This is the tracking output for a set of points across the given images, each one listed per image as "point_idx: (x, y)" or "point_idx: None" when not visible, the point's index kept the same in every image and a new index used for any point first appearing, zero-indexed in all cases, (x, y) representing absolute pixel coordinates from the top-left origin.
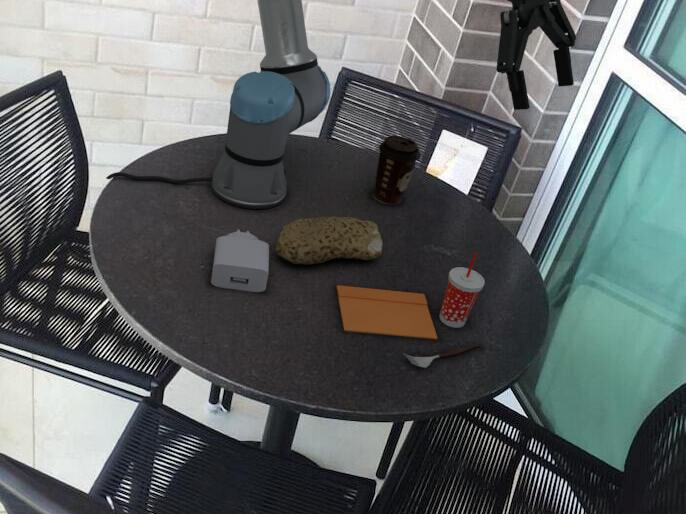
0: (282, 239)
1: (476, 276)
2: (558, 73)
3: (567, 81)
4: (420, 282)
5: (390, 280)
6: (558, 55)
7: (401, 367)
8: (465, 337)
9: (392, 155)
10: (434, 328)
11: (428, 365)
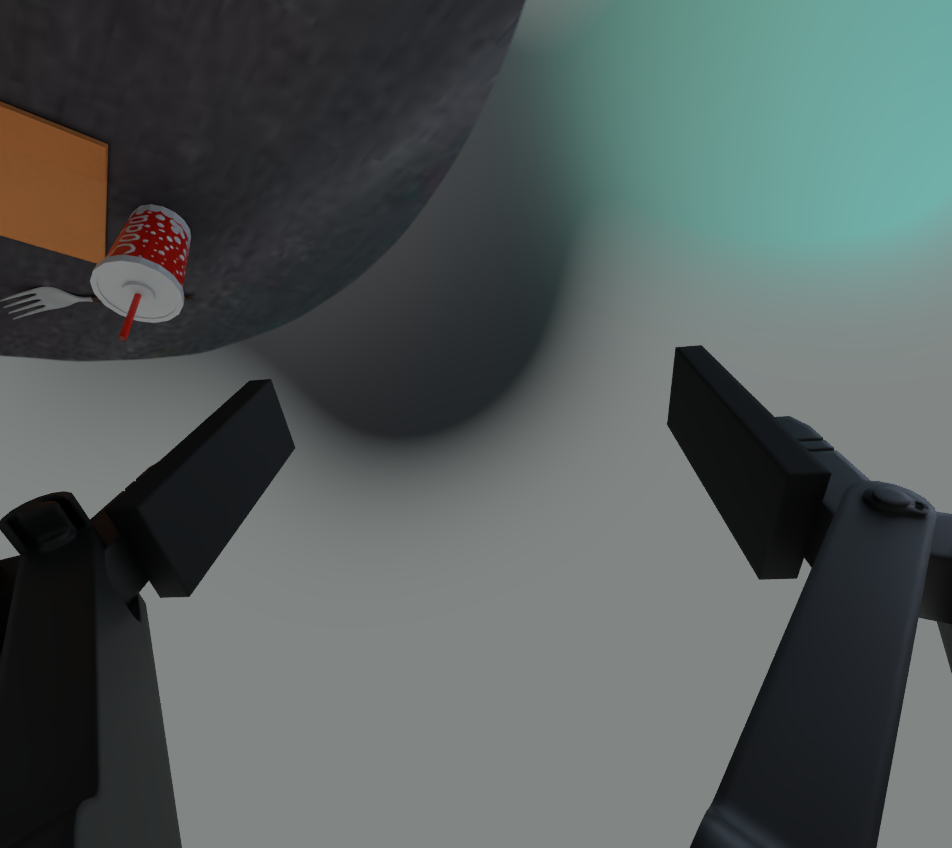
0: None
1: (168, 292)
2: (703, 392)
3: (676, 417)
4: (115, 88)
5: (7, 44)
6: (754, 484)
7: (6, 297)
8: None
9: None
10: (104, 243)
11: (67, 305)
